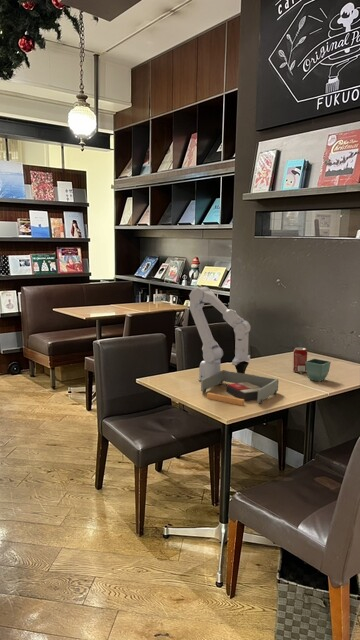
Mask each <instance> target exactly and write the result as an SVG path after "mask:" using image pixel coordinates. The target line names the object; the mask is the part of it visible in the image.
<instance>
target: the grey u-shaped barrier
mask: <svg viewBox="0 0 360 640" xmlns="http://www.w3.org/2000/svg"><path fill="white" fill-rule="evenodd" d="M224 382H225V383H226V382H227V383H229V384H235V383H237V384H238V383H244V382H248V383H251V384H253V385H256V386H259V387H260V388H261V389H259V390H258V400H256V402H257V403H258V404H259V405H262V404H263V401H264V400H266V399H267V398H268V397H270V396H272V395H277V392H278V391H279V379H278V378H274V377H267V376H261V375H255V374H249V373H245V374H244V373H238V372H237V371H230V370H225V369H223V370H220V372H218V373H215V374H213V375H211V376H209V377H206V378H204V379H202V380H201V381H200V392H202V393H206V392H207V390H208V389H211V388H213V387H214V386H217V385H222V384H223V383H224Z"/></svg>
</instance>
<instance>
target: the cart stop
mask: <svg viewBox="0 0 360 640" xmlns="http://www.w3.org/2000/svg"><path fill="white" fill-rule="evenodd" d="M206 399H210V400H214V401H219V402H224V403H230V404H234V405H239V406H244V405H245V401H244V399H239V398H238V397H235V396H234V397H233V396H229V395H223V394H218V393H213V392H207V393H206Z"/></svg>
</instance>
